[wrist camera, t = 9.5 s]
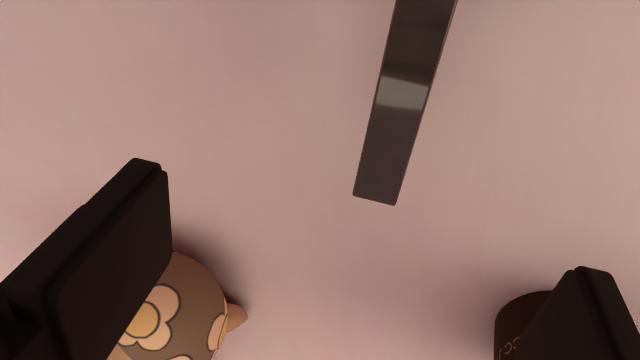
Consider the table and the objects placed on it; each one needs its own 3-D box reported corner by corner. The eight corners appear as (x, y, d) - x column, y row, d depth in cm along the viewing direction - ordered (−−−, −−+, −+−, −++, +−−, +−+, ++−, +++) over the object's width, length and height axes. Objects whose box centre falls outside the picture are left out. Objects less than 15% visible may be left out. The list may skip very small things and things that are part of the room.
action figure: (86, 368, 35) (42, 239, 26) (220, 320, 40) (224, 198, 31) (109, 504, 29) (61, 400, 19) (265, 427, 34) (286, 314, 24)
